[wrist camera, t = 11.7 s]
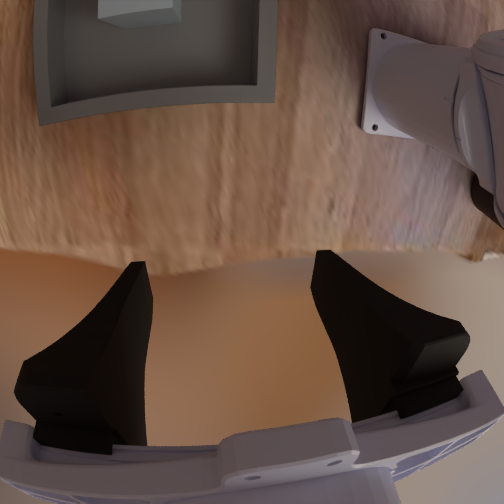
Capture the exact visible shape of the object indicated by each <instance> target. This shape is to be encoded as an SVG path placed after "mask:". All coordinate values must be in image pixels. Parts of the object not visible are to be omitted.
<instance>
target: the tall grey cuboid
mask: <svg viewBox="0 0 504 504" xmlns="http://www.w3.org/2000/svg"><path fill="white" fill-rule="evenodd" d="M181 4H182V0H98V19H99V20H102V21H105V22H108V23H110V24H113V25H116V26H118V27H121V28H123V29H129V28H136V27H143V26H151V25H160V24H171V23H181Z"/></svg>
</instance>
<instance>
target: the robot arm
mask: <svg viewBox="0 0 504 504" xmlns="http://www.w3.org/2000/svg"><path fill="white" fill-rule="evenodd" d="M381 33H382V34H383V35H384V39H382V38H381ZM374 124H375V125H376V127H375V129H374V130H372V126H373V125H374ZM361 129H362V130H363V131H364V132H366V133H369V134H379V135H387V136H395V137H403V138H410V139H417V140H419V141H421V142H423V143H425V144H427V145H429V146H430V147H432V148H434V149H436V150H438V151H440V152H441V153H443V154H445V155H447V156H449V157H450V158H452V159H454V160H456V161H457V162H459V163H461V164H462V165H464V166H466V167H467V168H469V169H471V170H472V171H474V172H475V173H476V174H477V176H478V179H479V183H480V186H482V187H483V188H484V189H486V190H487V191H489V192H490V193H492V194H493V195H494V210H495V214H496V216H497V219H498V221H499V222H500V224H501V226H502V227H503V228H504V30H498V31H492V32H488V33H485V34H482V35H481V36H480V37H479V38H478V40H477V41H476V43H475V44H473V46H472V47H471V49H470V48H463V47H455V46H445V45H434V44H428V43H425V42H422V41H420V40H416V39H413V38H410V37H407V36H404V35H401V34H397V33H394V32H390V31H386V30H383V29H379V28H372V29H371V30H370V31H369V42H368V58H367V71H366V83H365V94H364V103H363V113H362V121H361ZM311 291H312V295H313V299H314V302H315V305H316V308H317V310H318V313H319V315H320V317H321V320H322V322H323V324H324V327H325V329H326V331H327V334H328V336H329V338H330V340H331V343H332V345H333V347H334V350H335V353H336V355H337V359H338V362H339V366H340V370H341V373H342V376H343V381H344V384H345V389H346V393H347V398H348V403H349V408H350V413H351V419H352V423H351V424H350V421H347V420H344V419H341V418H331V419H323V420H318V421H313V422H307V423H302V424H296V425H290V426H285V427H278V428H270V429H262V430H254V431H248V432H243V433H238V434H233V435H231V436H229V437H227V438H225V439H223V440H222V441H221V442H220V443H219V445H203V446H161V447H160V446H147V438H146V424H145V400H144V379H145V363H146V356H147V349H148V343H149V337H150V330H151V323H152V314H153V296H152V291H151V287H150V283H149V278H148V273H147V268H146V263H145V261H139V262H131V263H130V264H129V265H128V266H127V268H126V269H125V270H124V272H123V273H122V274H121V276H120V277H119V278H118V280H117V281H116V282H115V284H114V285H113V286H112V287H111V288H110V290H109V291H108V292H107V294H106V295H105V296H104V297H103V298H102V299H101V301H100V302H99V303H98V304H97V305H96V306H95V308H94V309H93V310H92V311H91V312H90V313H89V314H88V315H87V316H86V317H85V318H84V319H83V320H82V321H81V322H79V324H77V325H76V326H75V327H74V328H72V329H71V330H70V331H69V332H68V333H66V334H65V335H64V336H63V337H61V338H60V339H59V340H57V341H56V342H55V343H53V344H52V345H50V346H49V347H47V348H46V349H44V350H43V351H41V352H39V353H37V354H36V355H34V356H32V357H30V358H29V359H27V360H25V361H24V362H23V365H22V367H21V370H20V373H19V376H18V379H17V383H16V385H15V389H14V394H15V396H16V399H17V400H18V401H19V403H20V404H21V405H22V406H23V407H24V408H25V409H26V410H27V412H28V413H30V415H31V416H33V418H34V419H35V420H36V425H35V428H34V427H32V426H30V425H27V424H24V423H20V422H15V421H10V420H5V423H4V427H3V431H2V435H1V439H0V480H2V481H4V482H5V483H7V484H9V485H10V486H12V487H14V488H16V489H18V490H19V491H21V492H23V493H25V494H27V495H29V496H31V497H35V498H39V499H42V500H46V501H49V502H53V503H56V504H401V502H400V499H399V496H398V493H397V490H396V487H395V485H394V482H396V481H398V480H401V479H403V478H405V477H407V476H409V475H411V474H414V473H416V472H418V471H420V470H422V469H424V468H426V467H428V466H430V465H432V464H434V463H436V462H438V461H440V460H442V459H444V458H445V457H447V456H449V455H451V454H453V453H455V452H456V451H458V450H460V449H462V448H464V447H465V446H467V445H469V444H471V443H472V442H474V441H476V440H477V439H478V438H479V437H481V436H482V435H483V434H484V433H485V432H486V431H488V430H489V429H490V428H491V427H492V426H493V425H494V424H495V423H497V421H499V420H500V419H501V418H502V417H503V416H504V406H503V405H502V403H501V401H500V400H499V398H498V396H497V394H496V392H495V391H494V389H493V387H492V386H491V384H490V382H489V381H488V379H487V377H486V376H485V374H484V373H483V371H482V370H479V371H477V372H475V373H473V374H470V375H468V376H466V377H464V378H463V379H461V380H460V381H459V380H458V379H457V377H456V375H458V373H459V371H458V369H457V368H456V364H457V363H458V362H459V360H460V359H461V357H462V356H463V354H464V353H465V351H466V350H467V348H468V346H469V343H470V336H469V334H468V333H467V331H466V330H465V328H464V327H463V326H462V324H461V323H460V322H459V321H456V320H453V319H449V318H446V317H442V316H439V315H436V314H434V313H431V312H428V311H426V310H423V309H421V308H418V307H416V306H414V305H412V304H410V303H408V302H406V301H404V300H402V299H399V298H398V297H396V296H394V295H393V294H391V293H389V292H388V291H386V290H384V289H383V288H381V287H380V286H378V285H377V284H375V283H374V282H372V281H371V280H369V279H368V278H366V277H365V276H364V275H362V274H361V273H360V272H359V271H357V270H356V269H355V268H353V267H352V266H351V265H350V264H348V263H347V262H346V261H344V260H343V259H342V258H341V257H339V256H338V255H337V254H335V253H334V252H332V251H331V250H318V251H317V252H316V258H315V264H314V270H313V276H312V281H311Z"/></svg>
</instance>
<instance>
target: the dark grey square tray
mask: <svg viewBox="0 0 504 504" xmlns="http://www.w3.org/2000/svg"><path fill="white" fill-rule="evenodd" d="M277 22H278V0H182V4H181V23H171V24H160V25H151V26H143V27H136V28H129V29H123V28H121V27H118V26H116V25H113V24H110V23H108V22H105V21H102V20H99V19H98V0H35V1H34V22H33V54H34V76H35V90H36V101H37V110H38V118H39V126H43V125H48V124H52V123H56V122H61V121H66V120H71V119H76V118H81V117H87V116H92V115H98V114H104V113H111V112H118V111H125V110H133V109H141V108H151V107H161V106H173V105H187V104H205V103H274V101H275V77H276V51H277Z"/></svg>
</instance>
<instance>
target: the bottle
mask: <svg viewBox="0 0 504 504" xmlns="http://www.w3.org/2000/svg"><path fill="white" fill-rule="evenodd" d="M472 198H473V202H474V204H475V206H476V207H477V208H478V209H479V210H480V211H481V212H483V213H484V214H485V215H486V216H488V217H489V218H490V219H491V220H493V221H494V222H495V223H496V224H497V225H499V226H500V227H501V228H502V229H503V230H504V228H503V227H502V226H501V224H500V222H499V221H498V219H497V216H496V214H495V210H494V195H493V194H492V193H490V192H489V191H487V190H486V189H484V188H483V187H482V186H480V183H479V179H478V176H477V174H476V173H475V176H474V179H473V185H472Z"/></svg>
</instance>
